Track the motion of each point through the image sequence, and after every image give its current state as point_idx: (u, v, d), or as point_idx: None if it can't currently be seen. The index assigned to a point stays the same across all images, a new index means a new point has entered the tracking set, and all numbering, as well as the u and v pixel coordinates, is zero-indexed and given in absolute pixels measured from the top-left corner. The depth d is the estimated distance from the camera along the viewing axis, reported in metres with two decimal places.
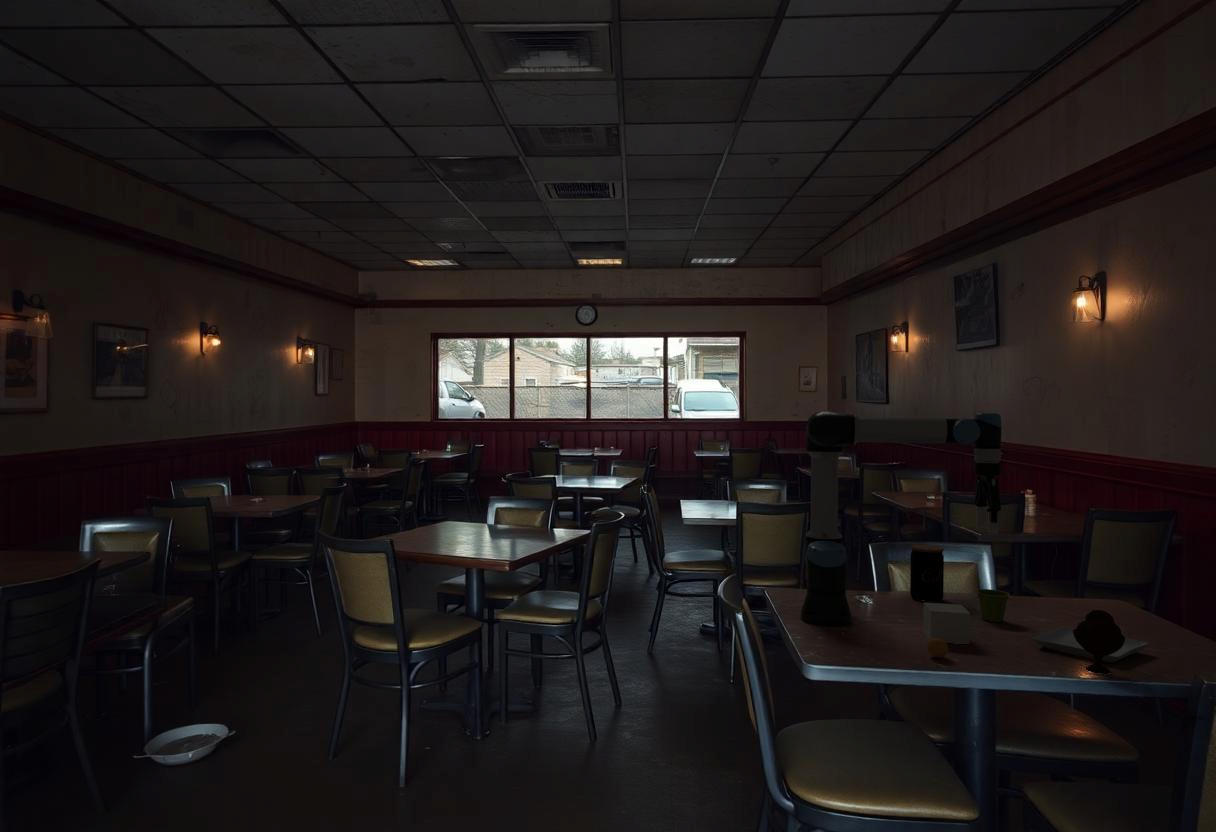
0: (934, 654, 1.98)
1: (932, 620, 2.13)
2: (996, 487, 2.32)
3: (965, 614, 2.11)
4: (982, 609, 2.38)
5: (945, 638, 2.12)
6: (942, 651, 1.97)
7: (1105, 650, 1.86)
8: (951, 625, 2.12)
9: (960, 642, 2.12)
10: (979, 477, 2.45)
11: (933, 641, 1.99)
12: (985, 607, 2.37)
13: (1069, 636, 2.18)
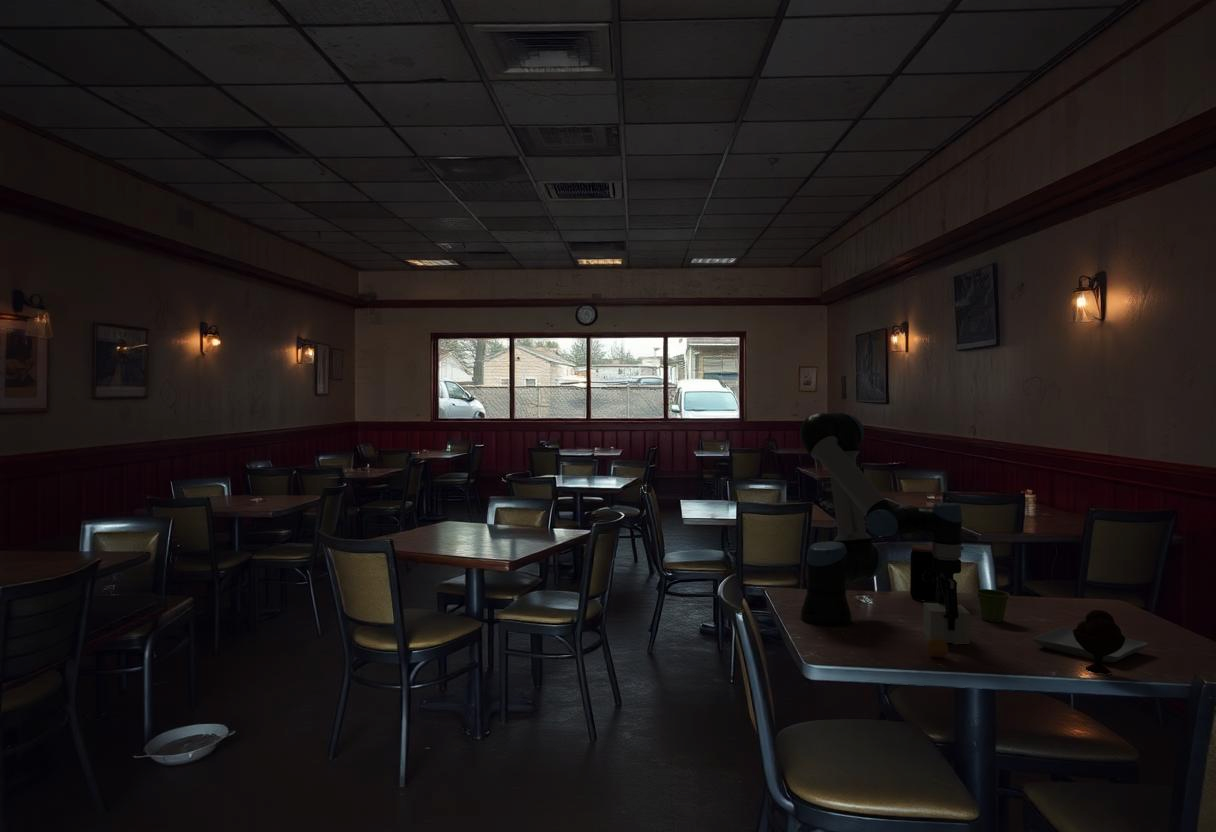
0: (934, 654, 1.98)
1: (932, 620, 2.13)
2: (954, 591, 2.10)
3: (965, 614, 2.11)
4: (982, 609, 2.38)
5: None
6: (942, 651, 1.97)
7: (1105, 650, 1.86)
8: None
9: (960, 642, 2.12)
10: (938, 573, 2.23)
11: (933, 641, 1.99)
12: (985, 607, 2.37)
13: (1069, 636, 2.18)
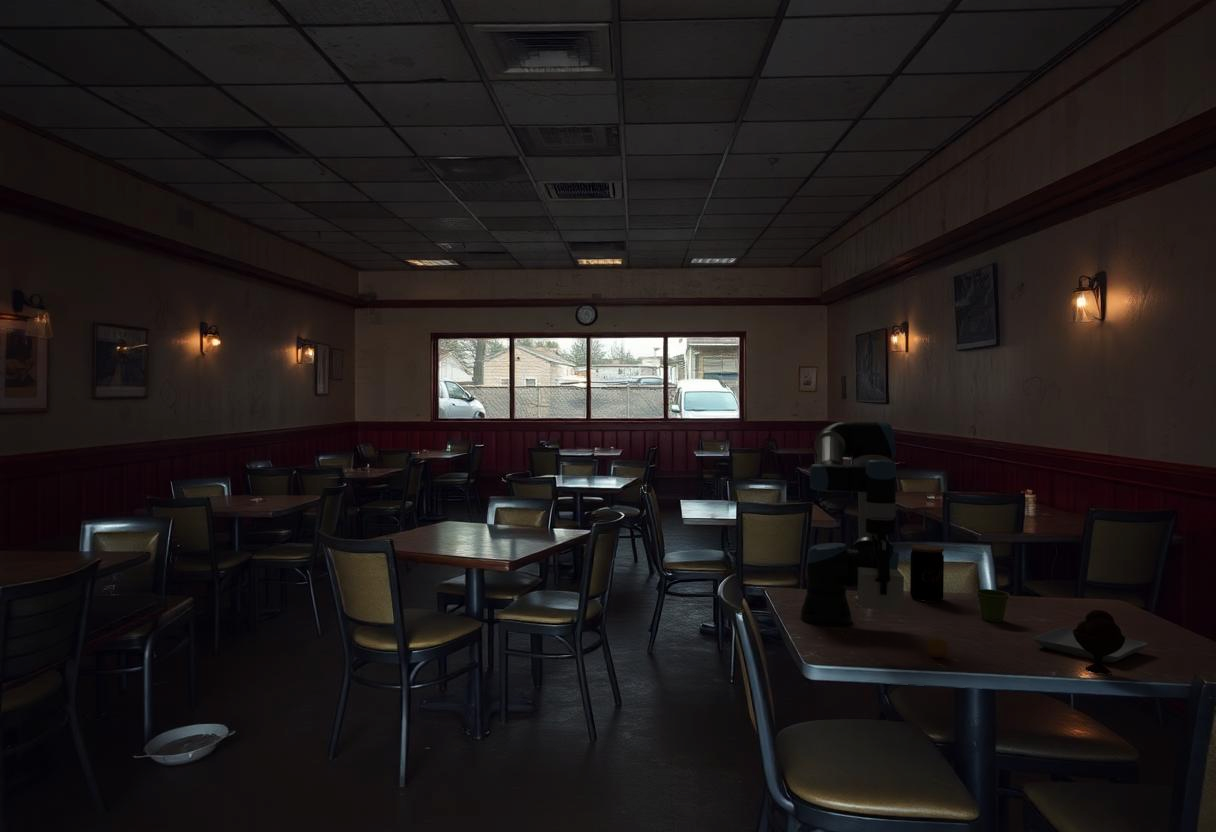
0: (934, 654, 1.98)
1: (864, 584, 1.99)
2: (887, 552, 1.96)
3: (898, 577, 1.97)
4: (982, 609, 2.38)
5: None
6: (942, 651, 1.97)
7: (1105, 650, 1.86)
8: None
9: (893, 607, 1.97)
10: (873, 536, 2.09)
11: (933, 641, 1.99)
12: (985, 607, 2.37)
13: (1069, 636, 2.18)
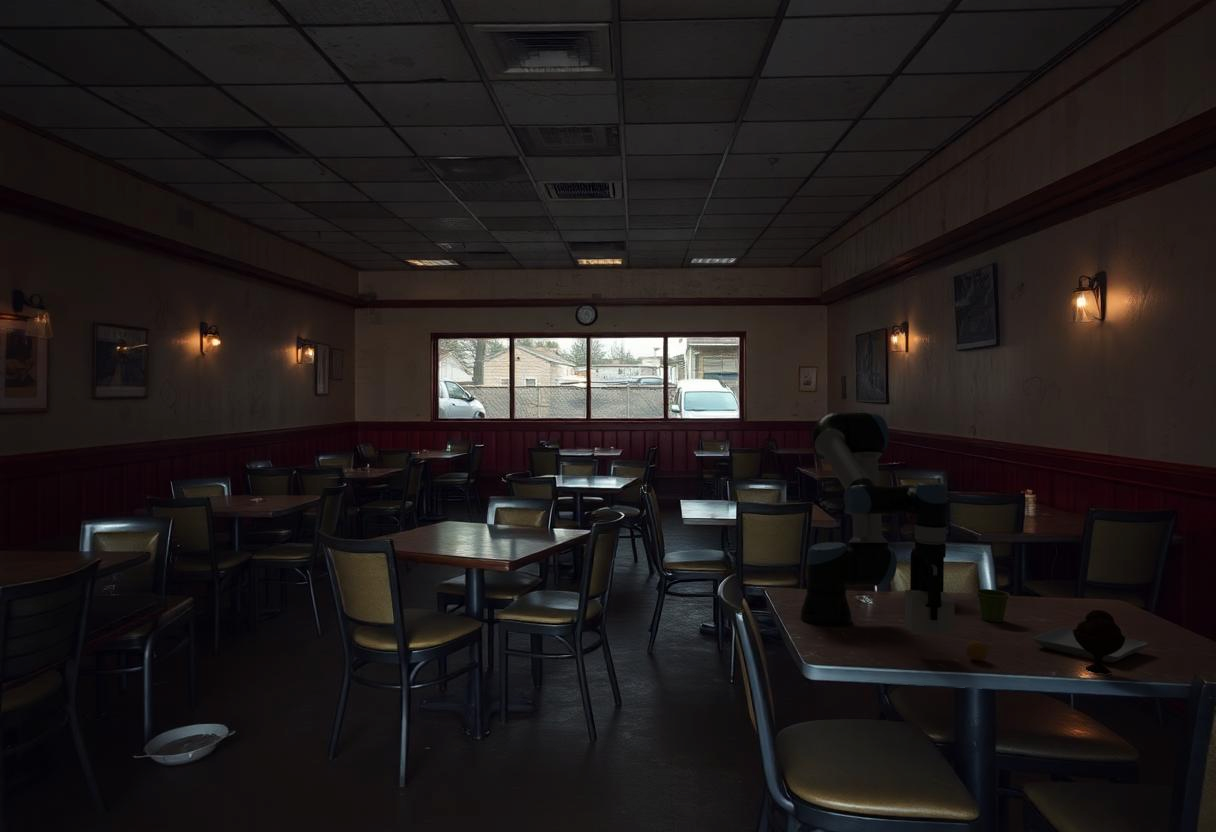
0: (985, 651, 1.95)
1: (913, 609, 1.97)
2: (938, 577, 1.94)
3: (949, 603, 1.95)
4: (982, 609, 2.38)
5: None
6: (976, 650, 1.95)
7: (1105, 650, 1.86)
8: None
9: (943, 633, 1.95)
10: (922, 558, 2.06)
11: (978, 660, 1.96)
12: (985, 607, 2.37)
13: (1069, 636, 2.18)
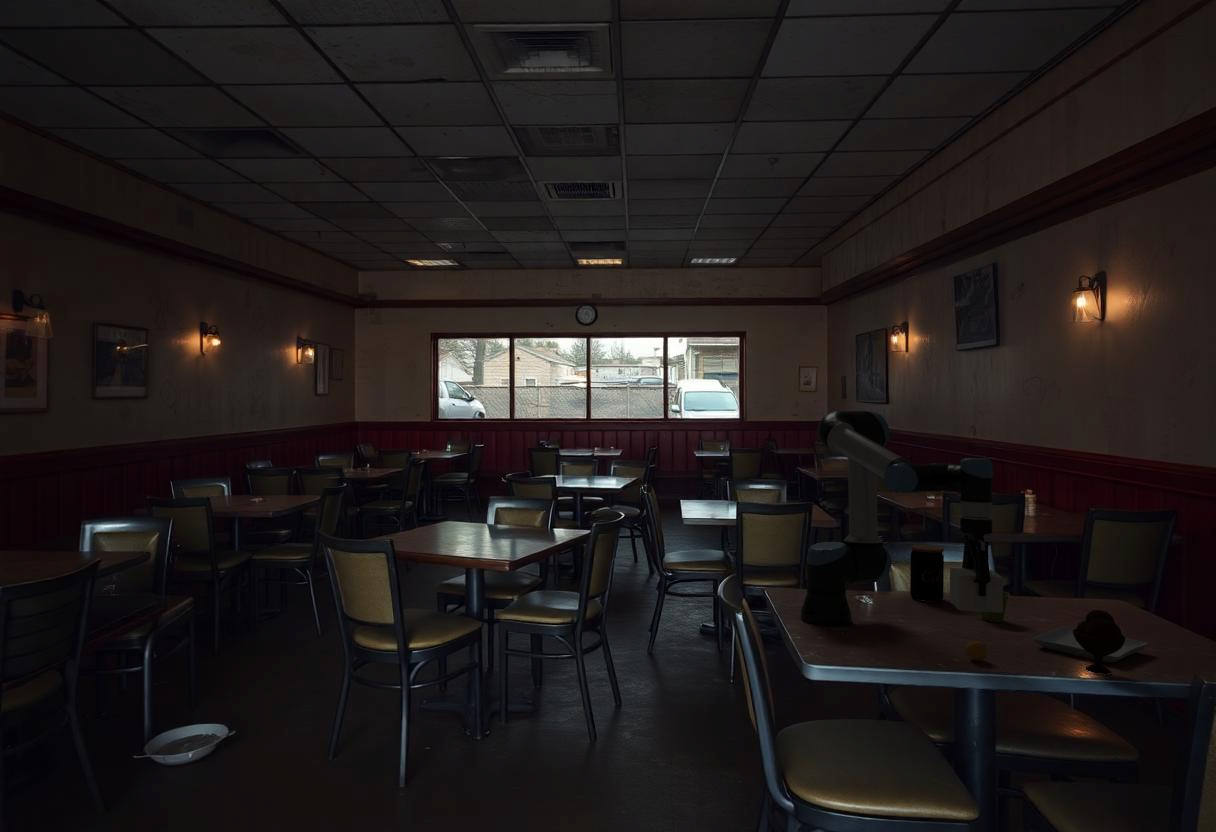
0: (985, 651, 1.95)
1: (961, 585, 1.94)
2: (986, 552, 1.91)
3: (997, 578, 1.92)
4: None
5: None
6: (976, 650, 1.95)
7: (1105, 650, 1.86)
8: None
9: (992, 609, 1.92)
10: (966, 536, 2.04)
11: (978, 660, 1.96)
12: None
13: (1069, 636, 2.18)
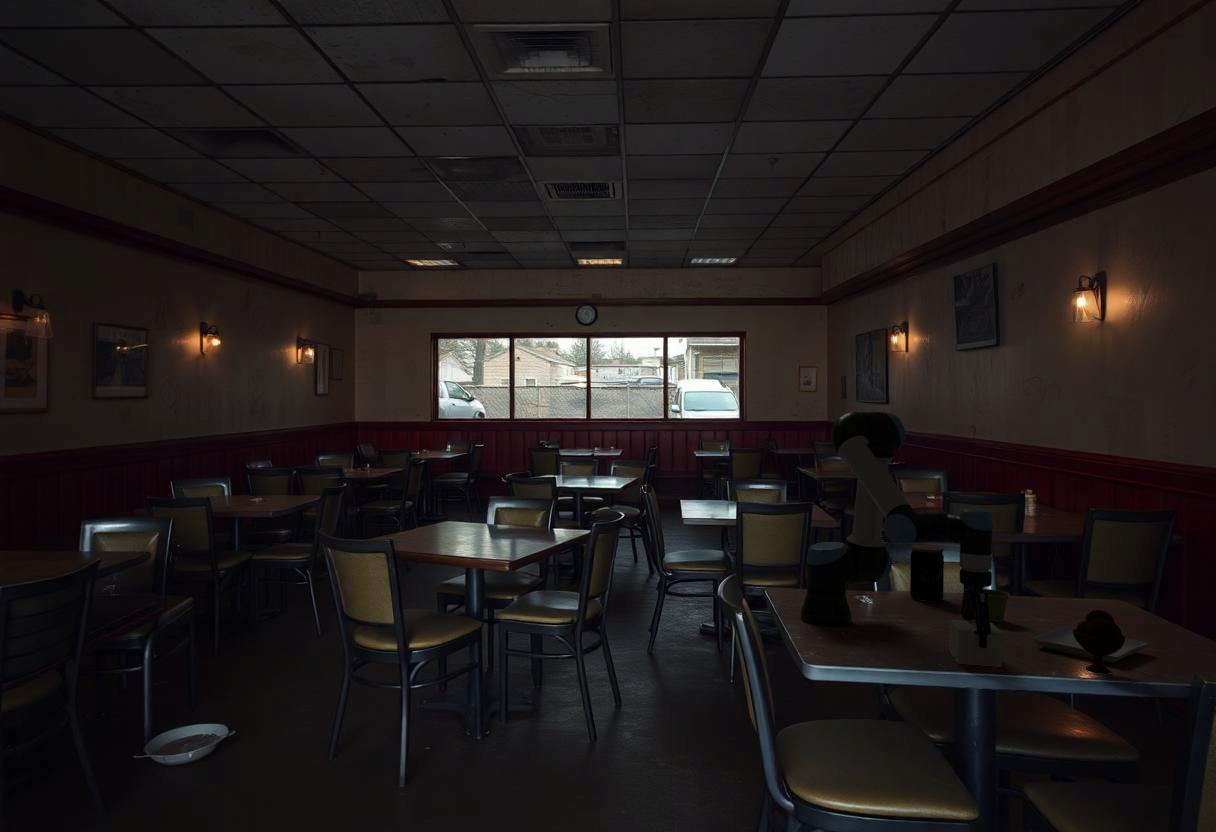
0: None
1: (960, 640, 1.94)
2: (986, 604, 1.91)
3: (997, 633, 1.92)
4: None
5: (974, 659, 1.93)
6: None
7: (1105, 650, 1.86)
8: None
9: (991, 664, 1.92)
10: (966, 584, 2.04)
11: None
12: None
13: (1069, 636, 2.18)
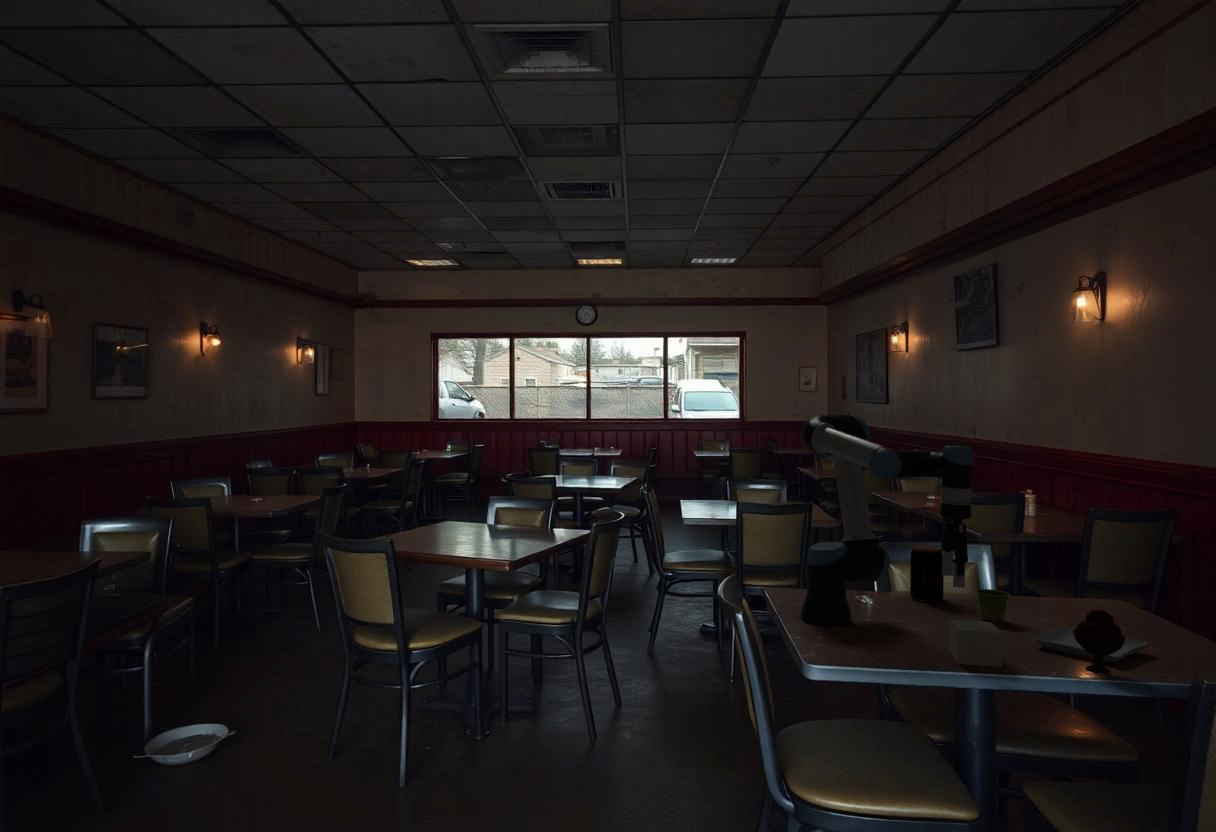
0: None
1: (960, 640, 1.94)
2: (964, 534, 1.99)
3: (997, 633, 1.92)
4: (982, 609, 2.38)
5: (974, 659, 1.93)
6: None
7: (1105, 650, 1.86)
8: (981, 645, 1.93)
9: (991, 664, 1.92)
10: (947, 518, 2.12)
11: None
12: (985, 607, 2.37)
13: (1069, 636, 2.18)
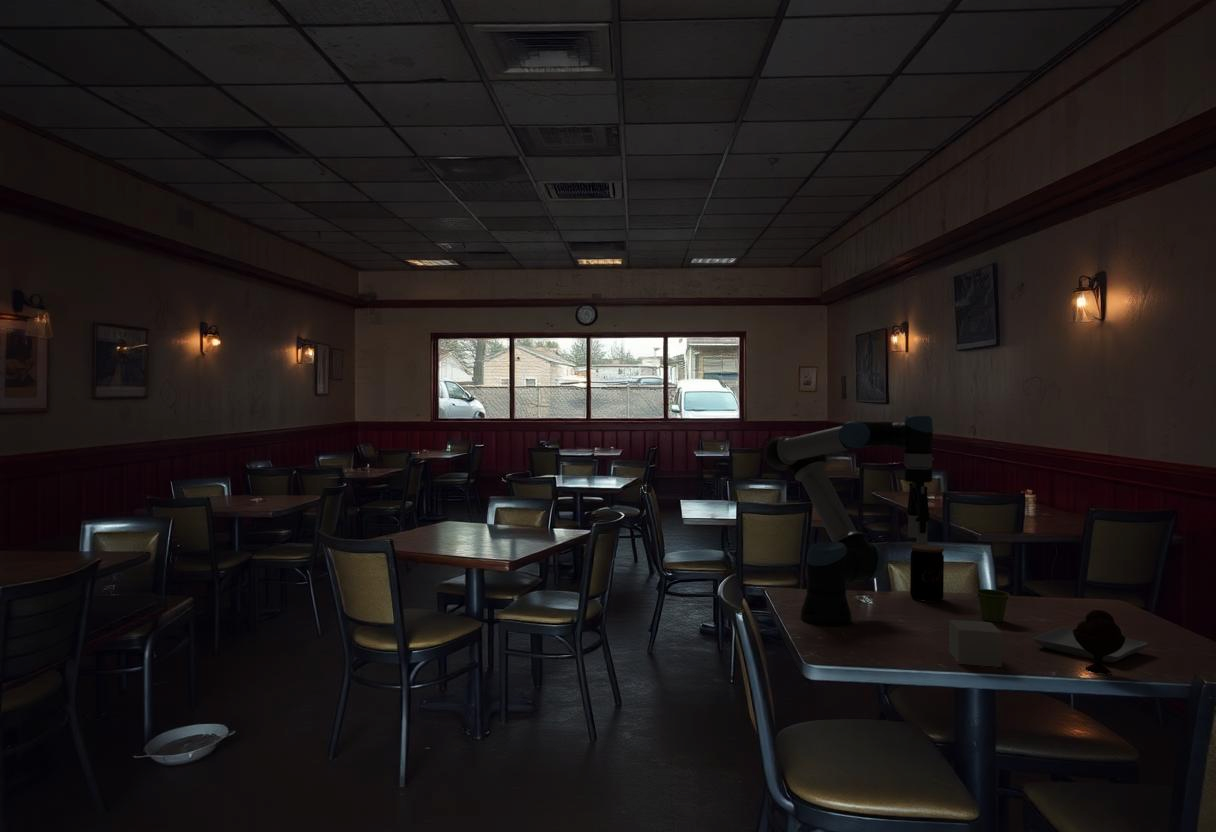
0: None
1: (960, 640, 1.94)
2: (925, 495, 2.16)
3: (997, 633, 1.92)
4: (982, 609, 2.38)
5: (974, 659, 1.93)
6: None
7: (1105, 650, 1.86)
8: (981, 645, 1.93)
9: (991, 664, 1.92)
10: (911, 484, 2.29)
11: None
12: (985, 607, 2.37)
13: (1069, 636, 2.18)
